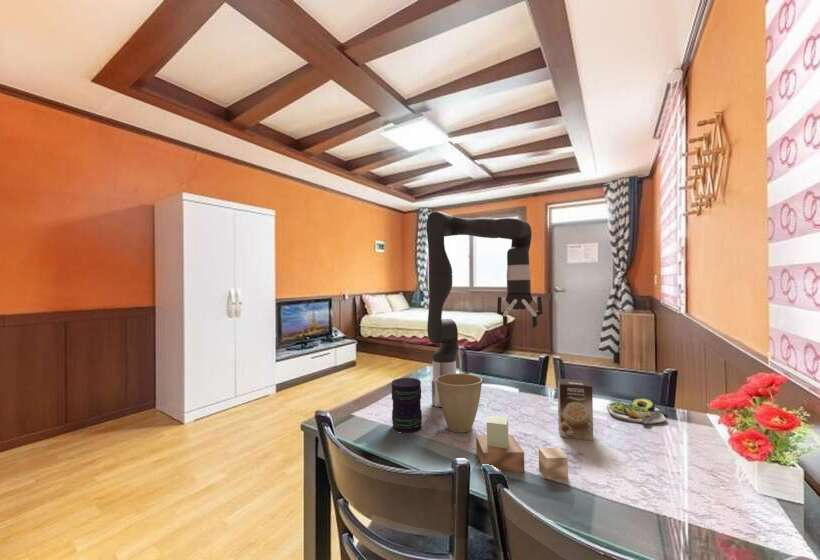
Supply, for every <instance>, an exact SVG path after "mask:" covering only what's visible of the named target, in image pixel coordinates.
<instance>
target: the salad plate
mask: <svg viewBox="0 0 820 560" xmlns="http://www.w3.org/2000/svg"><path fill="white" fill-rule="evenodd" d="M606 409H607V410H608V412H609V414H610V415H612V416H613V417H614V418H616V419H619V420H621V421H623V422H624V421H626V422H629V423H636V424H642V425H643V424H644V425H651V424H658V423H664V422H665V421H666V416H665V415H664V413H665V412H666V409H664V408H657V407H656V406H655V403H654V402H653V401H652V400H650V399H648V398H636V399H633V400H631V402H630V403H625V402H620V401H613V402H608V403H607V404H606ZM617 413H618V414H617ZM619 414H621V415H625V416H626V417H625V416H621V415H619ZM627 416H628V417H627Z"/></svg>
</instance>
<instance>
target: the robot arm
mask: <svg viewBox="0 0 820 560" xmlns="http://www.w3.org/2000/svg"><path fill="white" fill-rule="evenodd" d="M425 225H426V227H425V229H426V236H427V237H426V238H427V246H428V291H429V292H428V313H427V329H426V333H427V337H428V340H429V342H430V343H432V344H434V345H437V344H438V345H439V344H441V345H440V347H439V348H438V349H436V350H435V351H434V352H433V353H432V355H431V356H432V357H431V358H432V359H431V362H432V363H431V365H432V380H431V406H432V405H436V406H439V407H441V403H440V399H439V395H438V389H437V383H436V378H437V377H439V376H441V375H446V374H457V355H458V341H459V339H458V338H459V333H458V332H459V331H458V330H459V329H458V326H457V323H456V321H454V320H453V319H452V318H444V319H442V315H443V308H444V305H445V303H446V300H447V299H448V297H449V295H450V293H451V290H452V287H453V268H452V264H451V262H450V259H449V257H448V254H447V252H446V247H445V237H452V236H472V237H479V238H484V239H485V238H486V239H487V238H488V239H504V240H505V239H506V240H511V246H510V248H509V249H508V250H507V253H506V265H507V267H506V297H504V296H498V297H497V312H496V314H497V315H499V316H502V325H503V327H505V328H507V329H508V314H509V313H510V312H511V311H512V309H513V310H523V311H524V310H526V309H527V311H529V313H530V314H531V328H532V329H535V327H537V325H538V324H537V323H538V322H537V319H538V318H537V317H539V316H540V315H541V316H542V315H543V312H544V311H543V302H542V297H541V296H540V295H538V296H532V290H531V288H532V287H531V286H532V283H531V282H532V281H531V268H530V247H531V244H532V243H531V241H532V235H533V234H532V227H531V224H529V223H528V222H527V221H526V220H523V219H519V218H516V217H515V218H514V217H504V218H495V217H474V218H462V217H459V216H454V215H451V214H449V213H445V212H442V211H435V210H434V211H433V212H431V213H429V215H428V216H427V219H426V224H425ZM505 301H506V302H507V304H508V306H507V307H506V309H504V311H502V304H504V302H505ZM533 301H534V303H535V304H536V305H537V307H536V308H537V311H535V310H534V309H533V308H532V307H531V305H530V304H531V303H532V302H533ZM436 406H435V407H436ZM439 407H438V408H439Z"/></svg>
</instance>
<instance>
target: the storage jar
mask: <svg viewBox="0 0 820 560" xmlns="http://www.w3.org/2000/svg"><path fill="white" fill-rule="evenodd" d="M421 382H422V381H421V380H420V379H417V378H414V377H402V378H401V377H400V378H397V379H393V380H392V381H391V400H392V412H391V421H392V430H393V429H394V430H395V431H397V432H396V433H398V432H401V433H400V434H402V433H410V434H415V433H418V432H419V430H420V431H421V430H422V427H423V426H422V423H423V422H422V420H423V416H422V415H423V414H422V409H421V400H422V385H421V384H422V383H421ZM394 430H393V431H394ZM395 431H394V432H395Z"/></svg>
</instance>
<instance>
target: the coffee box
mask: <svg viewBox="0 0 820 560" xmlns="http://www.w3.org/2000/svg"><path fill="white" fill-rule="evenodd" d="M557 401H558V402H557V406H558V407H557V411H558V412H557V413H558V415H557V417H558V418H557V419H558V433H559V437H561V438H569V439H576V440H582V441H583V440H584V441H592V442H593V441H594V416H593V415H594V413H593V411H594V409H593V408H594V407H593V406H594V405H593V386H592V384H591V382H589V380H581V379H580V380H578V379H567V378H557Z"/></svg>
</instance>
